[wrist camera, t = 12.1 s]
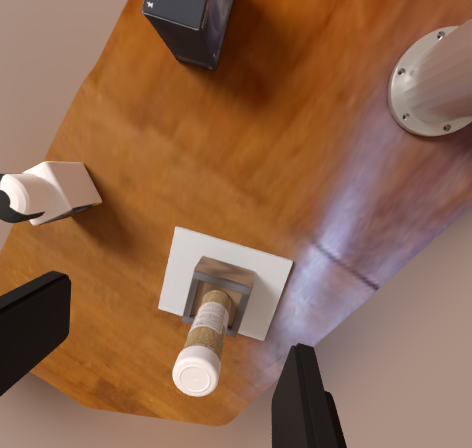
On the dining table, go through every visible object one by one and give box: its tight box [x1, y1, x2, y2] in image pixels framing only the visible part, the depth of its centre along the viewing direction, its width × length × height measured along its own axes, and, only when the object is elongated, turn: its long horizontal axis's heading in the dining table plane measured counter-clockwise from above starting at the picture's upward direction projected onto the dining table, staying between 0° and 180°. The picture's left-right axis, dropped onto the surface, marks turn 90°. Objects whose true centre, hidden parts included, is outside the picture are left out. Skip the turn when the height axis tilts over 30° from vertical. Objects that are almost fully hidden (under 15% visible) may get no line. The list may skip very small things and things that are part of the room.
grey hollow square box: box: [182, 256, 254, 338], centre depth 38 cm, size 9×9×6 cm
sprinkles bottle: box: [173, 290, 231, 396], centre depth 29 cm, size 5×5×13 cm
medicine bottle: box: [0, 162, 102, 226], centre depth 34 cm, size 7×7×12 cm
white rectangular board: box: [158, 226, 293, 341], centre depth 41 cm, size 20×16×1 cm
